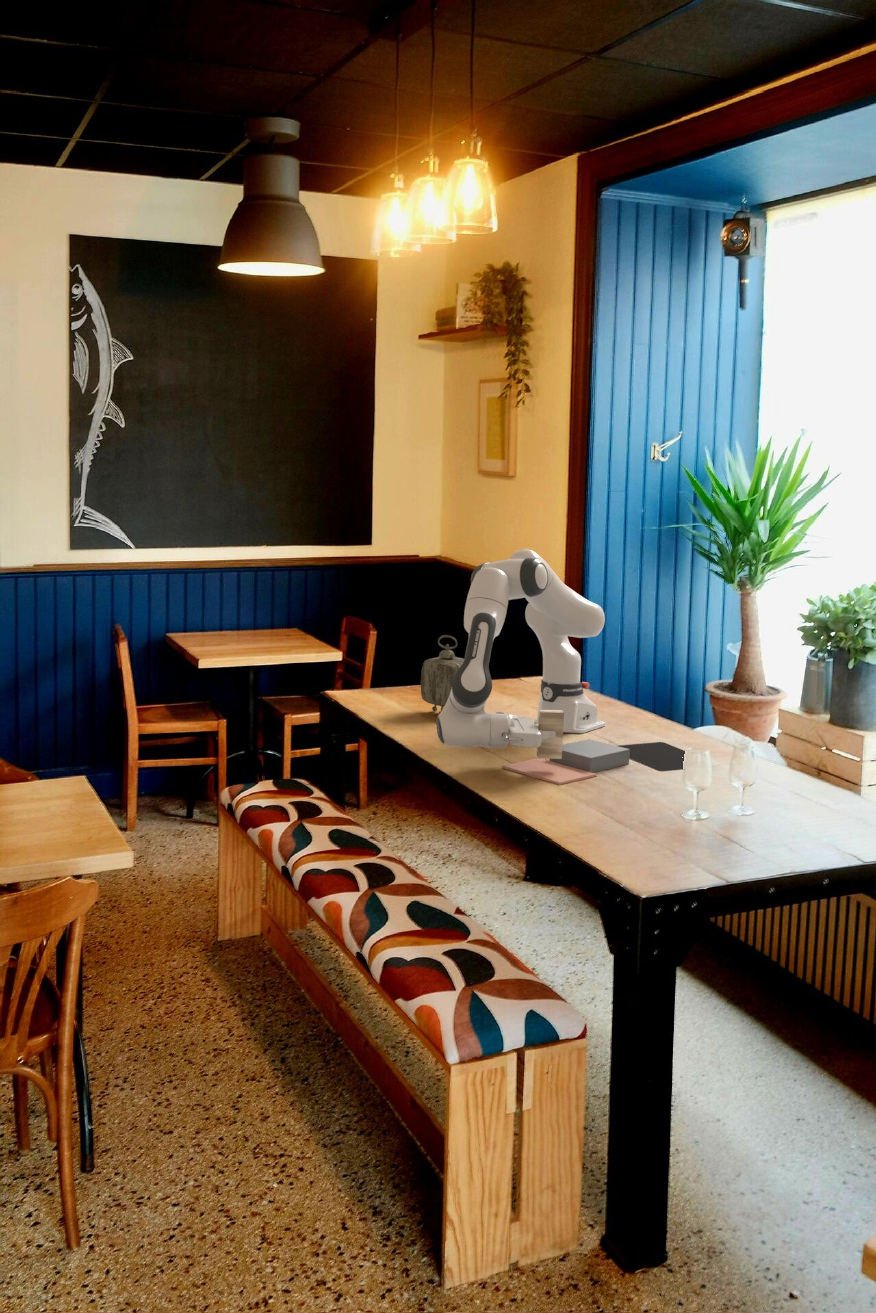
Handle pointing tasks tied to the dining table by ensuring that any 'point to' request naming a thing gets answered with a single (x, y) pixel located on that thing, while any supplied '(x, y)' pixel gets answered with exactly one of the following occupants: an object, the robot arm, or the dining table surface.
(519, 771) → the terracotta mat
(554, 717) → the birch plaque
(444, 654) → the tabletop clock
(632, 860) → the dining table surface
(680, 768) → the tablet
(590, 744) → the block
